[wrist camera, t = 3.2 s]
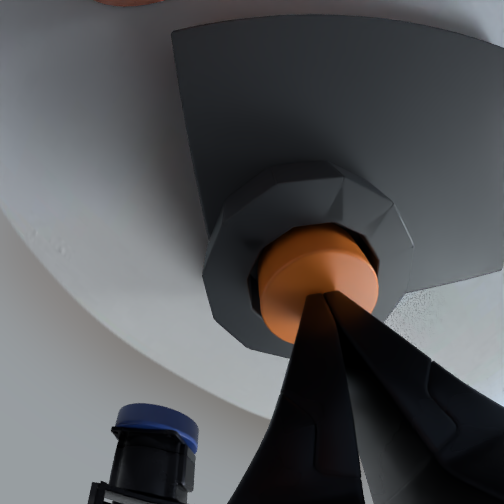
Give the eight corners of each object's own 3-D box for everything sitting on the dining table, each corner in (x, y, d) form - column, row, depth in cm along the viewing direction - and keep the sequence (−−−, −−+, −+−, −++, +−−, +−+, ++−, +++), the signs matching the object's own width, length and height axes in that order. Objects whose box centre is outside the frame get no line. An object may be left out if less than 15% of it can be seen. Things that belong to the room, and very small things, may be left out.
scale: (229, 304, 13) (227, 367, 10) (179, 40, 8) (150, 17, 5) (481, 262, 13) (519, 301, 10) (497, 53, 8) (553, 58, 4)
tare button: (263, 315, 10) (266, 354, 9) (250, 227, 9) (252, 259, 7) (356, 301, 10) (373, 336, 8) (360, 213, 8) (385, 241, 7)
